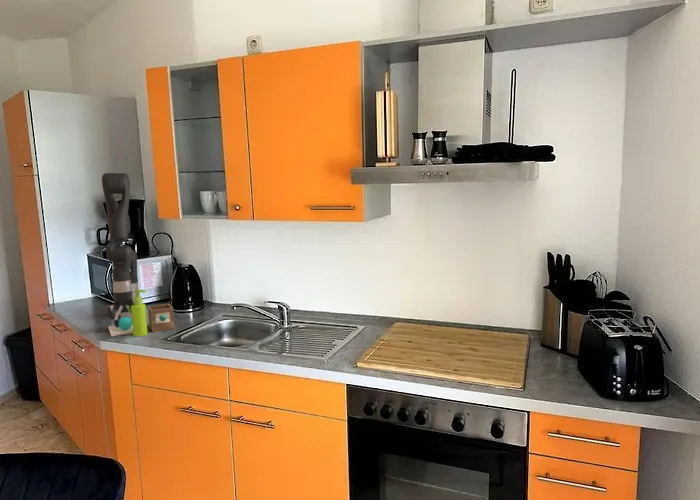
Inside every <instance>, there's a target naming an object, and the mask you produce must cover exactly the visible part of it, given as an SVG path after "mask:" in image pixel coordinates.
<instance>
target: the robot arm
mask: <svg viewBox="0 0 700 500" xmlns="http://www.w3.org/2000/svg"><path fill="white" fill-rule="evenodd" d="M130 181H131V180H130V177H129V174H128V173H125V172H106V173H103V174H102V177H101V187H102V192H103V195H104V201H105V206H106V212H107V224H108V230H109V241H108V246H107V249H106V254H105V255H106V259H107V260H108V261H109V263H110V262H111V263H112V265H113V268H112V290H113V301H114V302H113V304H111V305H107V306H106V310H107V314H108V316H109V320H113V323H114V326H115V327H117V328H119V327H118V321H119V319H120V318H122V317H125V316H126V317H129V318H131V319H132V313H131V306H132V305H134V297H136V295H135V292H133V291H134V290H140V289H139V276H138V255H137V252H136V251H135V250H133V248H132V247H131V246H129V245H122V244H123V243H124V241H127V240H128V238H129V234H130V232H131V221H130V215H129V207H130V193H131V192H130V191H131V182H130ZM114 195H121V199H120V202H119V203H118V201H117V200H116V199H115V196H114ZM113 309H115V310H116V311H115V313H114V315H113V313H112V311H113ZM119 316H120V318H119Z"/></svg>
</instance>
